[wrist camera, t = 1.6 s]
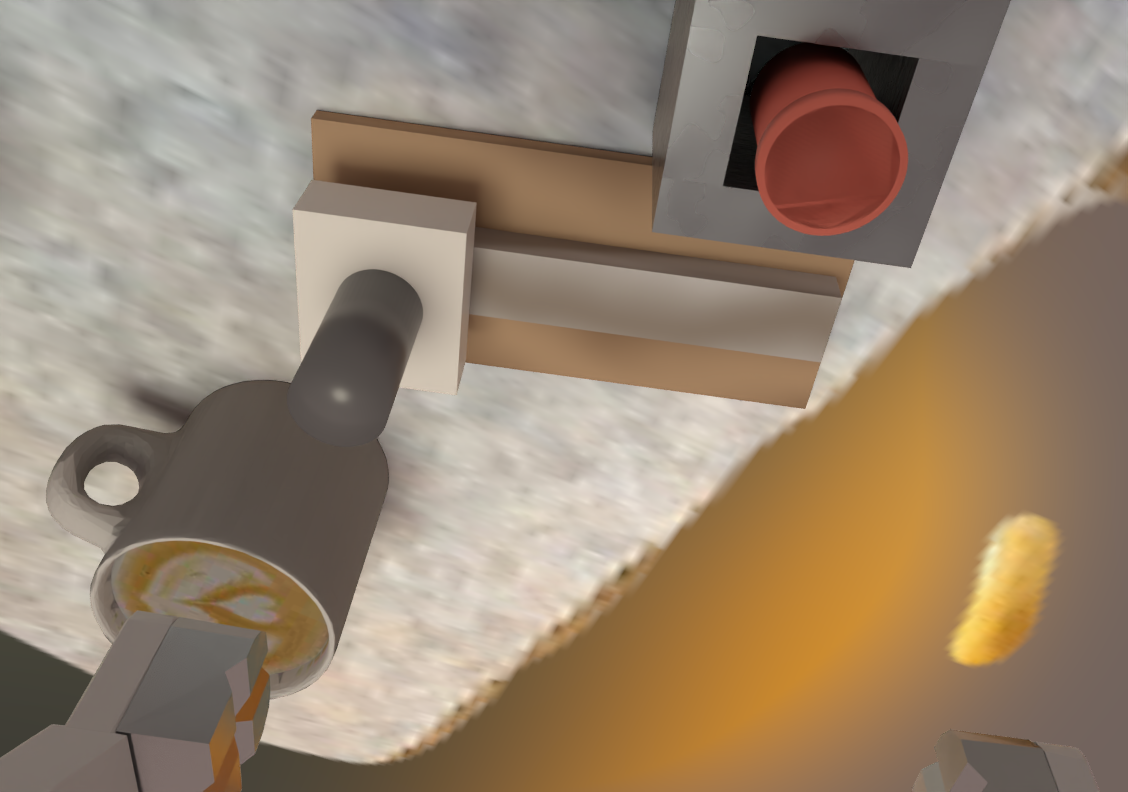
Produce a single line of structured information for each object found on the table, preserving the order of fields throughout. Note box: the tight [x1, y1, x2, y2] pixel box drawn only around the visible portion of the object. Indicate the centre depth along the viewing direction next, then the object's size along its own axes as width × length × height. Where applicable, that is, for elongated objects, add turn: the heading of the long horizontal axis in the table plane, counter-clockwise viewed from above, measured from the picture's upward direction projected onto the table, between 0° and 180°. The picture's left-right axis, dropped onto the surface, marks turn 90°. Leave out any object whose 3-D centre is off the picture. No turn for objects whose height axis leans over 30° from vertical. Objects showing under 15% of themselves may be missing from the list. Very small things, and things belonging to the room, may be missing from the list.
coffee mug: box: [46, 380, 388, 699], centre depth 43 cm, size 13×10×10 cm
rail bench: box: [311, 110, 854, 409], centre depth 39 cm, size 10×21×2 cm, turn 83°
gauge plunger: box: [750, 42, 908, 236], centre depth 28 cm, size 4×4×5 cm
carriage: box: [287, 180, 477, 447], centre depth 35 cm, size 7×6×8 cm
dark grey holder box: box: [652, 0, 1011, 268], centre depth 31 cm, size 8×8×8 cm
